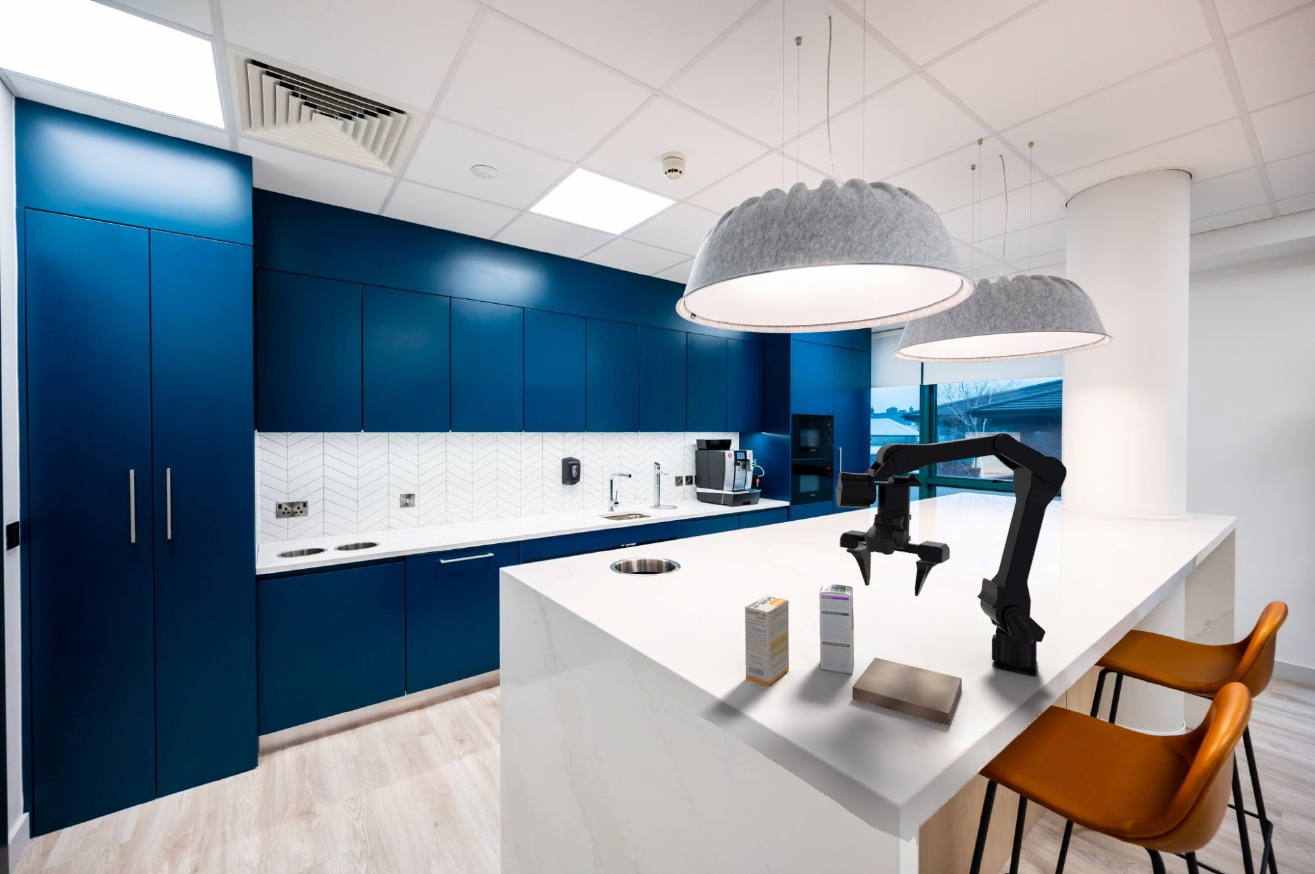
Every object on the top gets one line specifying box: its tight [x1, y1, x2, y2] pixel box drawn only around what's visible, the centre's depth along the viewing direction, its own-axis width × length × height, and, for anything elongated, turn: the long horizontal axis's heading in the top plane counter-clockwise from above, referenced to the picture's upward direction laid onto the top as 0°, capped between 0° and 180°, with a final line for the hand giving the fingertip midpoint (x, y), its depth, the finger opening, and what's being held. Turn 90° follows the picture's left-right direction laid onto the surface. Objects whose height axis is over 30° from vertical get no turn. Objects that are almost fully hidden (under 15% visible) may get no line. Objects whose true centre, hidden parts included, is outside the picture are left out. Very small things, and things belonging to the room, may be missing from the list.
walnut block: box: [851, 657, 963, 727], centre depth 90 cm, size 14×14×2 cm
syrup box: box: [818, 583, 855, 675], centre depth 100 cm, size 6×6×14 cm
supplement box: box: [744, 595, 790, 687], centre depth 97 cm, size 8×5×13 cm, turn 141°
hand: (891, 590), depth 103 cm, fingers open, 9 cm apart
